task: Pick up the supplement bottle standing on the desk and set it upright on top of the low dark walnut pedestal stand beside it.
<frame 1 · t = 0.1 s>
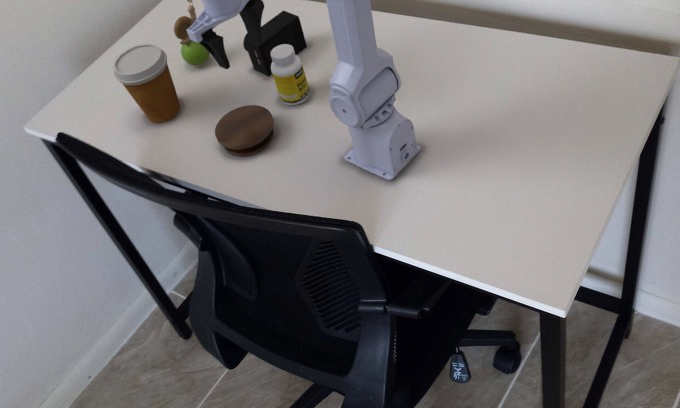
hand: (240, 53, 114), 10 cm above the table, tool pointing down, fingers open, 7 cm apart
snail figurine: (202, 61, 133), on the table
disposable coffee cup: (164, 112, 124), on the table
supplement bottle: (296, 97, 120), on the table
stand: (248, 137, 115), on the table
digital camera: (279, 58, 128), on the table
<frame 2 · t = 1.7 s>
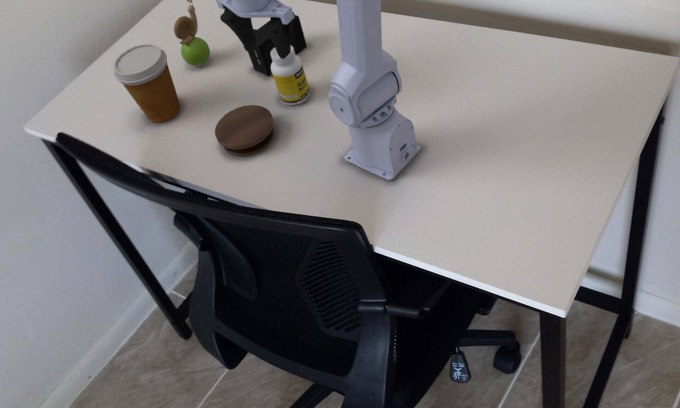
hand: (268, 50, 112), 10 cm above the table, tool pointing down, fingers open, 7 cm apart
nothing on the table moved.
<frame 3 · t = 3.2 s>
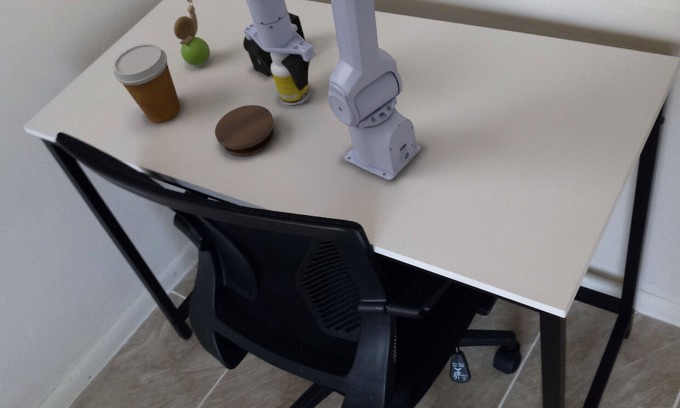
hand: (291, 81, 117), 3 cm above the table, tool pointing down, fingers closed on supplement bottle, 5 cm apart
supplement bottle: (295, 97, 120), on the table, touching gripper
everything else where it was.
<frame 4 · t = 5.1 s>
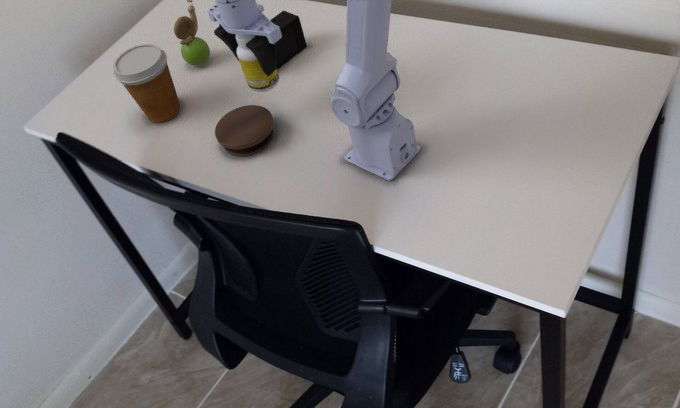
hand: (258, 66, 110), 10 cm above the table, tool pointing down, fingers closed on supplement bottle, 5 cm apart
supplement bottle: (264, 83, 112), point 7 cm above the table, touching gripper
everything else where it was.
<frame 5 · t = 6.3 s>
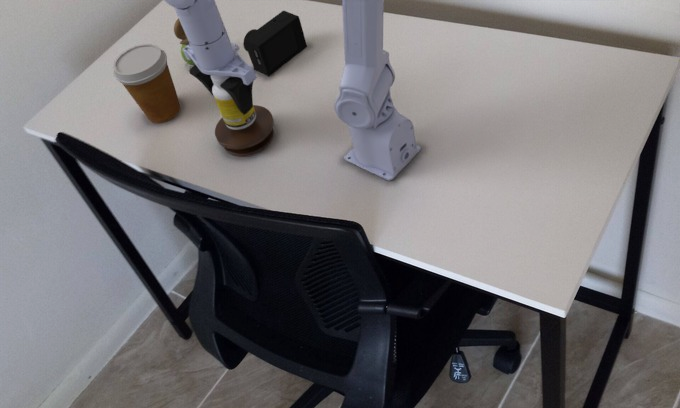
hand: (235, 104, 109), 8 cm above the table, tool pointing down, fingers closed on supplement bottle, 5 cm apart
supplement bottle: (241, 120, 112), point 4 cm above the table, touching gripper
everything else where it was.
when the fingers open (6 cm above the table, at t = 7.2 s): supplement bottle stays where it is, resting on stand.
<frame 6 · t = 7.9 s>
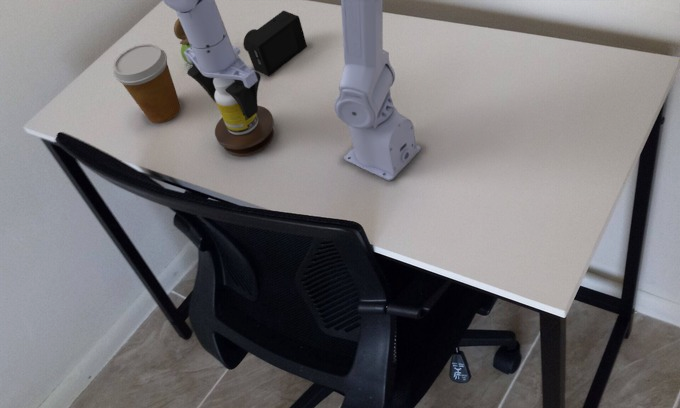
hand: (236, 106, 109), 7 cm above the table, tool pointing down, fingers open, 7 cm apart
supplement bottle: (243, 125, 113), point 3 cm above the table, touching stand
everything else where it was.
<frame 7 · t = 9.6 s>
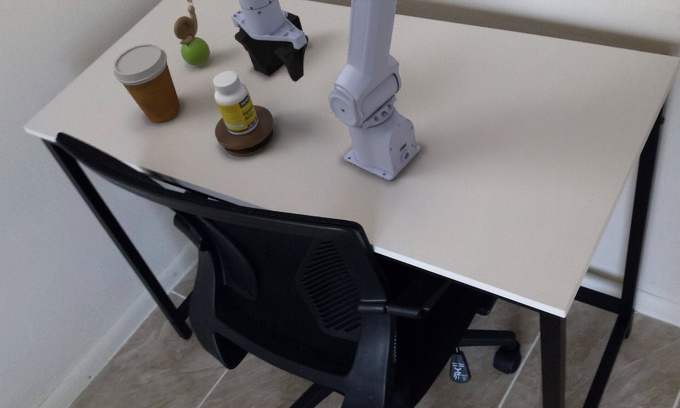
hand: (281, 71, 111), 9 cm above the table, tool pointing down, fingers open, 7 cm apart
nothing on the table moved.
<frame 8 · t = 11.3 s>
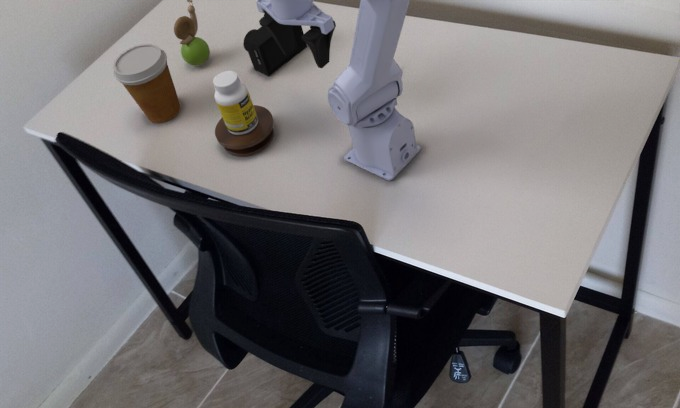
hand: (306, 57, 109), 10 cm above the table, tool pointing down, fingers open, 7 cm apart
nothing on the table moved.
at the end: supplement bottle 0.0 cm off-centre on the stand, point 2.8 cm above the stand's base; supplement bottle tilted 0°; the gripper is holding nothing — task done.
